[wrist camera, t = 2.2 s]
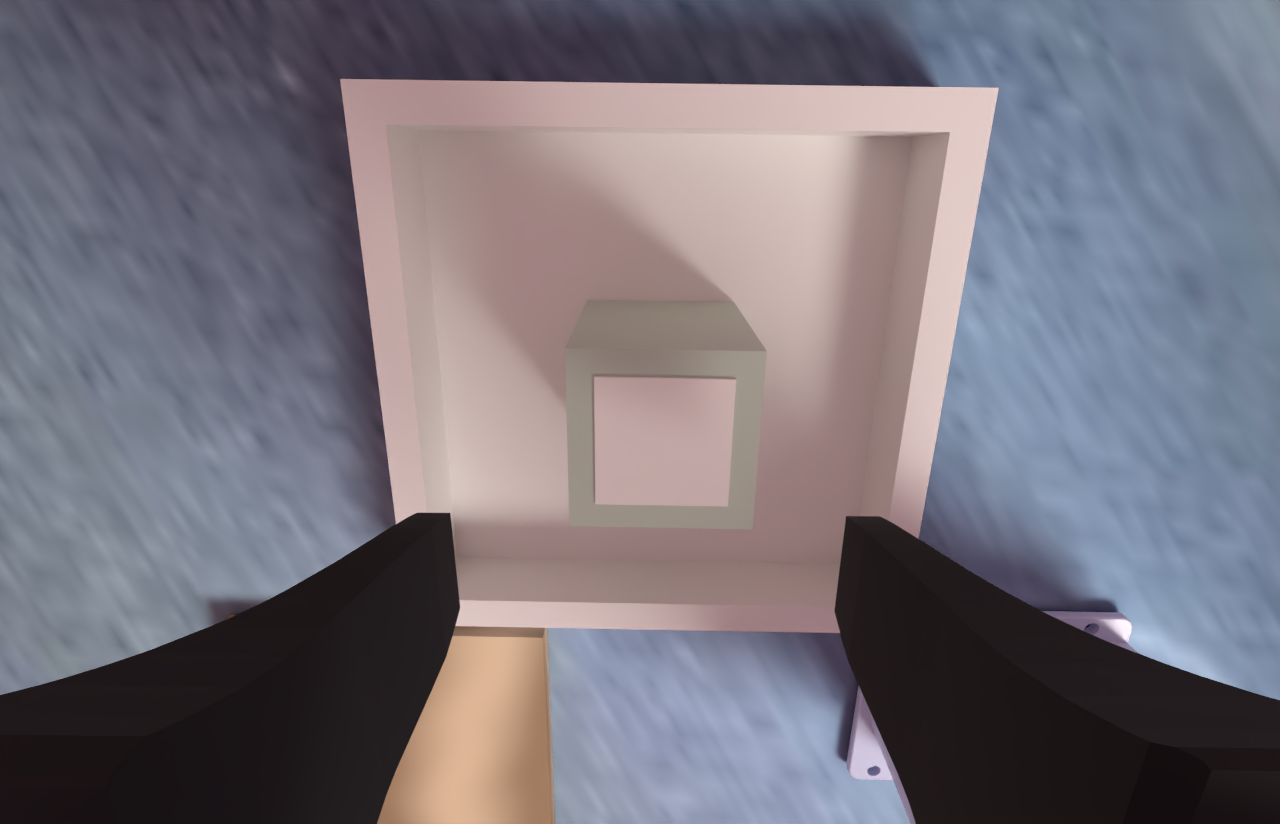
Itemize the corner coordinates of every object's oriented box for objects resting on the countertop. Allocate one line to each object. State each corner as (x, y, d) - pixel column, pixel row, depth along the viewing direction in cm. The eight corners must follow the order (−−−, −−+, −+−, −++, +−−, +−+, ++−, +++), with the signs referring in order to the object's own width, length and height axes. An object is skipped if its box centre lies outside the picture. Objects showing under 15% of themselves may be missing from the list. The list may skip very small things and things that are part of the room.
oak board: (546, 620, 25) (542, 637, 24) (556, 848, 29) (553, 871, 28) (230, 614, 25) (213, 631, 24) (283, 842, 29) (271, 865, 28)
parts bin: (946, 100, 19) (998, 87, 16) (872, 580, 24) (901, 634, 22) (386, 93, 19) (339, 78, 16) (436, 573, 24) (408, 625, 22)
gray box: (733, 302, 20) (767, 351, 15) (725, 437, 22) (752, 530, 16) (587, 299, 20) (564, 348, 15) (589, 435, 22) (568, 527, 16)
